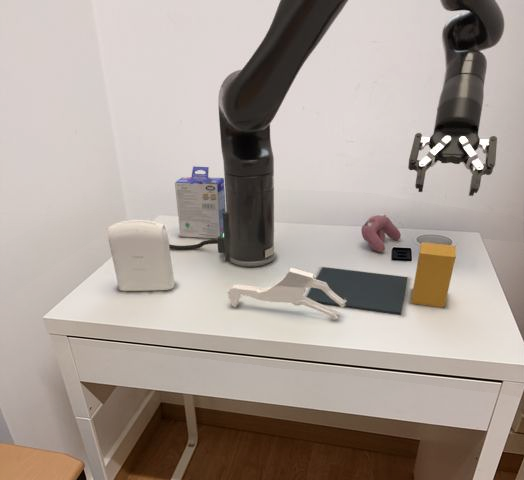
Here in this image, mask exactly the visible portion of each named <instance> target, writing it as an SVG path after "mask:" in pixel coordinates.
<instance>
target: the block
mask: <svg viewBox="0 0 524 480" xmlns="http://www.w3.org/2000/svg"><path fill="white" fill-rule="evenodd" d="M456 255H457V254H456V245H455V244H453V245H452V244H443V243H436V242H435V243H433V242H426V241H425V242H423V241H421V243H420V247H419V253H418V259H417V264H416V271H415V276H414V282H413V287H412V293H411V300H410V304H413V305H422V306H429V307H435V308H436V307H437V308H445V306H446V301H447V297H448V293H449V290H450V289H449V288H450V284H451V280H452V275H453V272H454V271H453V270H454V267H455V262H456Z"/></svg>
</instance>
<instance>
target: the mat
mask: <svg viewBox="0 0 524 480" xmlns="http://www.w3.org/2000/svg"><path fill="white" fill-rule="evenodd" d="M315 279H316V280H319V281H323V282H326V283H327V285H328V287H329V288H330V289H331V290H332V291H333V292H334V293H335V294H337V295H338V296H339V297H340V298H342V299H343V300H344V299H345V300H347V301H346V302H345V304H344V305H345V306H344V307H343V308H351V309H359V310H365V311H371V312H379V313H386V314H393V315H400V316H401V315H402V310H403V306H404V305H403V304H404V298H405V292H406V287H407V282H408V276H401V275H393V274H383V273H377V272H376V273H375V272H368V271H367V272H366V271H359V270H352V269H351V270H350V269H343V268H342V269H341V268H335V267H327V266H322V267H321V269H320V271H319V273H318V274H317V276H316V278H315ZM306 297H308V298H310V299H311V300H313V301H315V302H317V303H320V304H322V305H329V306H336V307H339V306H340V305H339V304H338V303H336V302H335V301H334V300H332V299H331V298H330V297H329V296H328V295H327V294H326V293H325V292H324V291H323V290H321V289H318V288H312V287H310V289H309V290H308V293H307V295H306ZM340 307H341V306H340Z"/></svg>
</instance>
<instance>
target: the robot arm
mask: <svg viewBox="0 0 524 480" xmlns="http://www.w3.org/2000/svg"><path fill="white" fill-rule="evenodd" d="M348 2H349V0H279V2H278V6H277V8H276V11H275V13H274V15H273V19H272V22H271V24H270V25H269V28H268V30H267V31H266V34H265V35H264V37H263V38H262V41H261V43H260V44H259V45H258V47H257V48H256V49H255V51H254V52H253V54H252V55H251V57H250V58H249V59H248V61H247V62H246V63H245V64H244V66H243V67H242V69H238V70H234V71H233V72H230V74H228V75H227V76H226V77H225V78H224V80H223V81H222V83H221V85H220V87H219V91H218V96H217V97H218V99H217V103H218V104H217V105H218V123H219V134H220V149H221V155H222V161H223V174H224V175H223V178H224V189H225V207H226V212H225V213H224V214H223V230H224V232H223V233H222V234H221V235H220V236H219V237H217V239H207V240H202V241H200V242H198V243H197V244H188V245H187V244H186V245H177V244H170V243H169V248H170V250H176V251H177V250H185V251H186V250H195V249H200V248H202V247H204V246H206V245H217V253H218V254H224V261H226V262H230V263H232V264H234V265H236V266H239V267H246V268H247V267H248V268H249V267H261V266H265V265H268V264H270V263H272V262H273V261H274V260H275V157H274V151H273V148H272V139H271V123H272V122H273V121H274V119H275V117H276V116H277V114H278V112H279V110H280V108H281V106H282V104H283V102H284V100H285V98H286V96H287V95H288V93H289V91H290V89H291V87H292V85H293V83H294V81H295V79H296V77H297V76H298V74H299V72H300V70H301V69H302V67H303V65H304V64H305V62H306V61H307V60H308V58H309V57H310V56H311V54H312V53H313V52H314V50H315V49H316V47H318V45H319V44H320V42H321V41H322V40H323V38H324V37H325V35H326V34H327V32H328V31H329V30H330V28H331V27H332V25H333V24H334V23H335V21H336V19H337V18H338V17H339V15H340V14H341V13H342V11H343V9H344V8H345V6H346V5H347V4H348ZM439 2H440V5H441V7H442V8H443V9H444V10H445V11H447V12H459V11H465V12H462V13H459V14H456V15H454V16H452V17H450V18H449V19H448V20H447V22H446V23H445V25H444V26H443V28H442V31H441V43H442V49H443V53H444V62H445V63H444V64H445V73H444V78H443V83H442V89H441V93H440V96H439V99H438V105H437V108H436V117H435V120H434V121H435V122H434V126H433V127H434V128H433V132H432V135H431V136H423V135H422V133H421V132H417V133H415V135H414V138H413V142H412V147H411V150H410V154H409V158H408V170H409V171H415V172H416V178H415V184H414V187H415V189H417V190H418V193H423V191H424V186H425V185H424V183H425V177H426V172H427V171H428V170H429V169H430V168H433V167H434V166H435V165H436V164H437V163H438V162H440V163H441V164H455V165H460V164H461V163H462V164H463V165H464V167H465V169H467V170H469V172H470V173H471V174H472V175H471V178H470V185H469V190H468V197H474V194H477V193H478V192H479V189H480V188H481V180H482V176H484V175H486V176H490V175H492V173H493V171H494V168H495V166H496V161H497V160H496V159H497V146H498V137H497V136H496V135H492V136H490V137H489V138H488V139H486V138H485V139H481V138H480V137H479V130H480V124H481V118H482V110H483V104H484V96H485V95H484V90H485V89H484V88H485V81H486V75H487V69H488V68H487V67H488V61H487V57H486V55H485V54H484V53H483V52H482V51H486V50H488V49H491V48H493V47H496V46H497V44H498V43H500V41H501V39H502V37H503V34H504V32H505V18H504V17H505V16H504V14H503V11H502V9H501V7H500V5H499V4H498V2H497V1H496V0H439ZM426 146H429V149H430V150H429V151H428V153H427V154H426V155H425V156H424V157H423V158H421V160H419V159H418V158H419V155H420V151H423V150H424V149H425V148H426ZM478 148H480V149H481V152H482V153H483V154H484V155H485V163H482V161H481V160H480V158H479V157H478V154H477V152H476V151H477V150H479V149H478Z"/></svg>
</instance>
